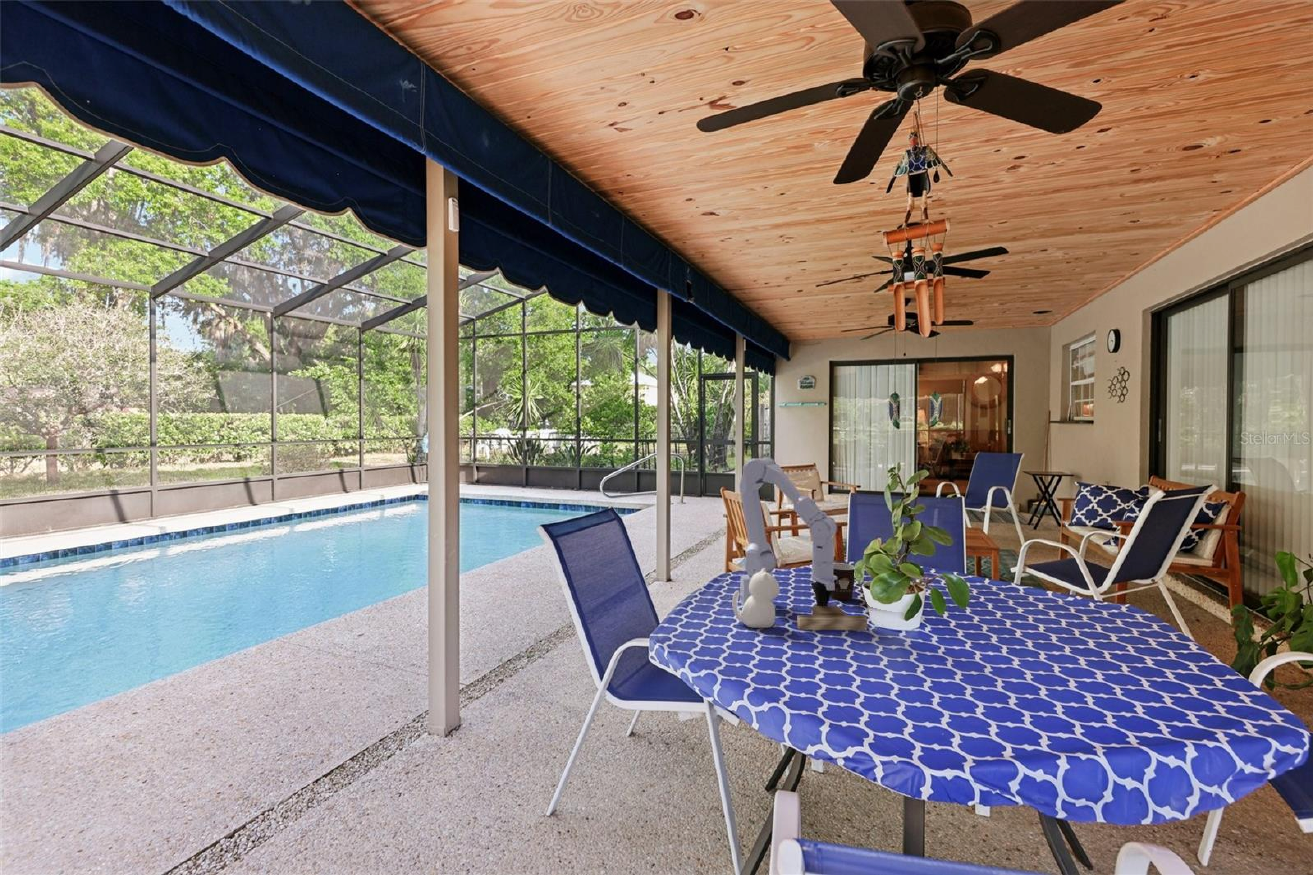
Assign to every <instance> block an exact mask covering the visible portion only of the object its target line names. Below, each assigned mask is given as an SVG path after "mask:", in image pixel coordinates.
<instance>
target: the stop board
mask: <svg viewBox="0 0 1313 875" xmlns="http://www.w3.org/2000/svg"><path fill="white" fill-rule="evenodd" d="M796 617H797V618H796V624H797V625H796V627H797V629H799V631H821V630H822V631H867V630H868V618H867V617H866V615H845V616H812V615H800V614H799V615H797V616H796Z"/></svg>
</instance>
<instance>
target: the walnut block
mask: <svg viewBox="0 0 1313 875" xmlns="http://www.w3.org/2000/svg"><path fill="white" fill-rule="evenodd" d="M811 610H812V612H811V614H812V615H811V616H846V612H845V611H844V610H843V609H842V608H840V607H839V606H838V605H827V606H817V605H812V608H811Z"/></svg>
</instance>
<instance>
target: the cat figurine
mask: <svg viewBox="0 0 1313 875" xmlns="http://www.w3.org/2000/svg"><path fill="white" fill-rule="evenodd" d="M780 590H781V588H780V584H779V583H778V581H777V579H776V578H775V576H774V575H773V576H772V575H771V574H769V573H767V572H766V568H763V569H762V570H761V571H760V572H758V573H756V574H754V575H753V576H752V578H751V580H750V583H749V591H750V594H751V596H750V597H749V598H748V599H747V600H746V602H745V604H744V606H743V605H742V608H741V613H740V610H739V608H738V607H739V606H738V604H739V603H738V600H739V598H740V591H739V590H738V589H737V590H735V591H734V593H733V595H732V598H731V599H732V600H731V603H732V604H731V605H732V609H733V613H734V615H735V617H736V619H737V620H738V621H739V622H742V623H743V624H744V625H745V626H747V627H749V628H755V629H756V628H757V629H764V628H766V629H767V628H769V629H770V628H771V627H772V626H773V625H774V624H775V622H776V620H775V619H776V608H775V607H774V605H775V604H774V605H773V603H774V602H773V601H774V600H775V599H776V598H777V597H778V596H779V594H780ZM771 600H772V601H771ZM772 602H773V603H772Z"/></svg>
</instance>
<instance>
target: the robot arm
mask: <svg viewBox="0 0 1313 875" xmlns="http://www.w3.org/2000/svg"><path fill="white" fill-rule="evenodd" d="M764 483H769V484H774V485H775V486H776V487H777V488H778V489H779V490H780V491H781V492H782V493H783V495H785V496H786V498H788V499H789V500H790V501H791V502H792V504H793V511H794V512H795V513H796V514H797V515H798V517H799V518H800V519H801V520H802V521H803V522H804V523H805V525H806V526H807V527H808V529H809V531H808V532H809V534H810V535H811V537H812V560H811V561H812V563H811V564H812V565H811V567H812V568H811V575H810V576H811V580H813V581H811V582H810V585H811V587H812V590H813V592H814V596H815V597H814V598H815V601H816V602H815V603H816V606H829V603H830V602H829V600H830V599H831V597H830V595H831V593H832V592H833V590H835V583H834V580H837V576H833V563H835V562H834V561H835V560H834V558H835V557H834V556H835V550H834V549H835V541H834V540H835V534H836V533H837V532H838V524H837V523H836V521H835V519H834V518H832V517H831V516H828V514H827V513H826V512H823V511H822V510H821V508H820V507H819V506H818V505H817V504H816V500H815V498H811V497H809V496H803V494H802V493H801V492H800V491H799V490H798V488H797V487H796V486H795V485H794V483H793V482H792V481H791V480H790V479H789V477H788V476H787V474H786V473H785V472H784V470H783V468H782V467H781V466H780V465H779V464H778V463H777V462H776V461H775V459H773V458H771V457H763V458H756V457H755V458H750V459H749V460H747V462H746V463H745V464H744V465H743V466H742V475H741V479H740V483H739V491H740V499H741V503H742V504H741V505H742V509H743V511H742V512H743V516H744V522H745V529H746V535H747V541H748V545H747V547H746V550H745V560H744V570H745V571H746V572H747V574H742V575H740V580H739V582H740V585H739V586H740V587H739V588H740V589H739V590H740V591H739V602H740V603H741V605H742V607H743V606H744V604H745V602H746V600H747V599H748V598H749V597H750V596H751V594H750V591H749V583H750V580H751V578H752V576H753V575H754V574H756V573H758V572H760V571H761V570H762V569H763V568H766V572H767V573H769V574H771V575H772V576H773V577H774V575H773V571H774V570H775V568H776V566H777V558H776V556H775V554H774V552H773V549H772V546H771V544H770V543H769V542H768V541H767V534H766V529H765V523H764V517H763V511H762V504H761V499H760V494H759V490H760V489H761V487H762V486H763V485H764ZM771 601H772V603H773V605H774V607H775V609H776V608H777V605H776V604H775V603H774V602H773V600H771Z"/></svg>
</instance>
